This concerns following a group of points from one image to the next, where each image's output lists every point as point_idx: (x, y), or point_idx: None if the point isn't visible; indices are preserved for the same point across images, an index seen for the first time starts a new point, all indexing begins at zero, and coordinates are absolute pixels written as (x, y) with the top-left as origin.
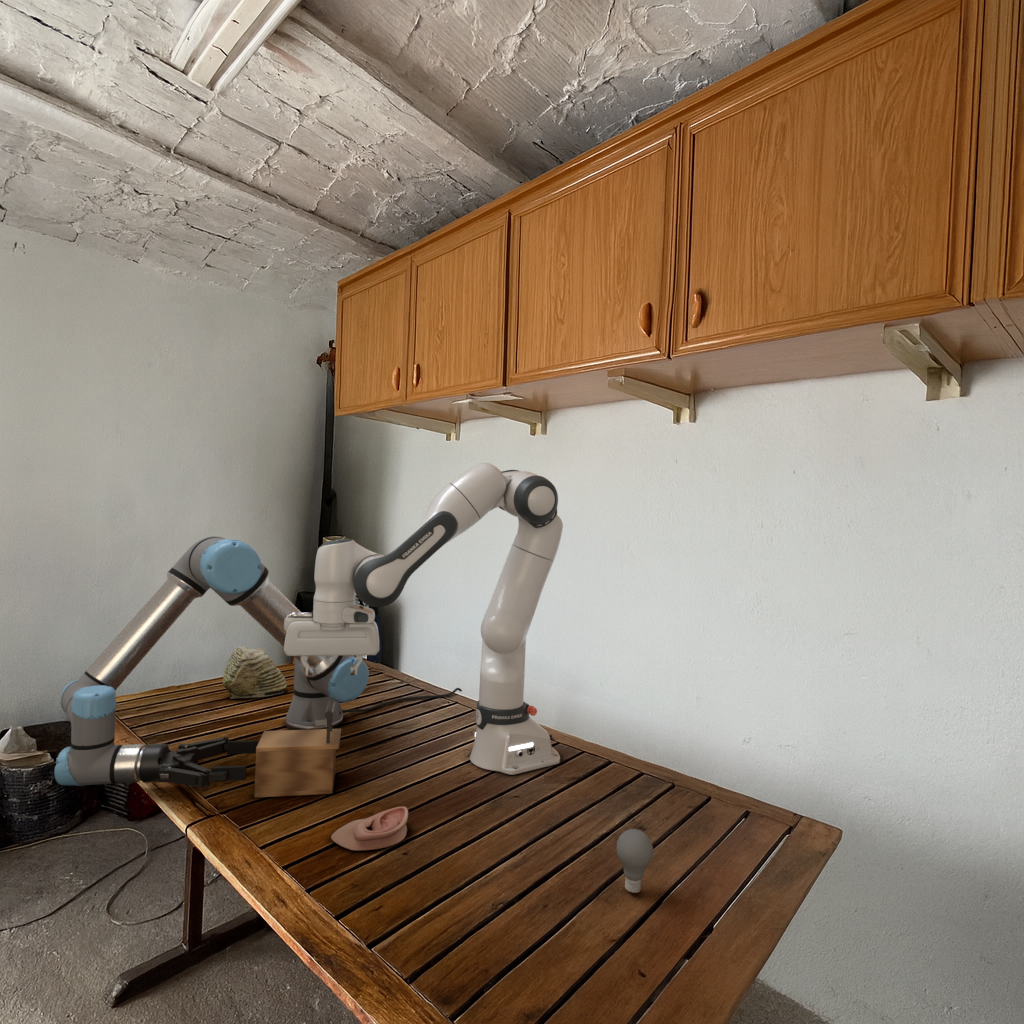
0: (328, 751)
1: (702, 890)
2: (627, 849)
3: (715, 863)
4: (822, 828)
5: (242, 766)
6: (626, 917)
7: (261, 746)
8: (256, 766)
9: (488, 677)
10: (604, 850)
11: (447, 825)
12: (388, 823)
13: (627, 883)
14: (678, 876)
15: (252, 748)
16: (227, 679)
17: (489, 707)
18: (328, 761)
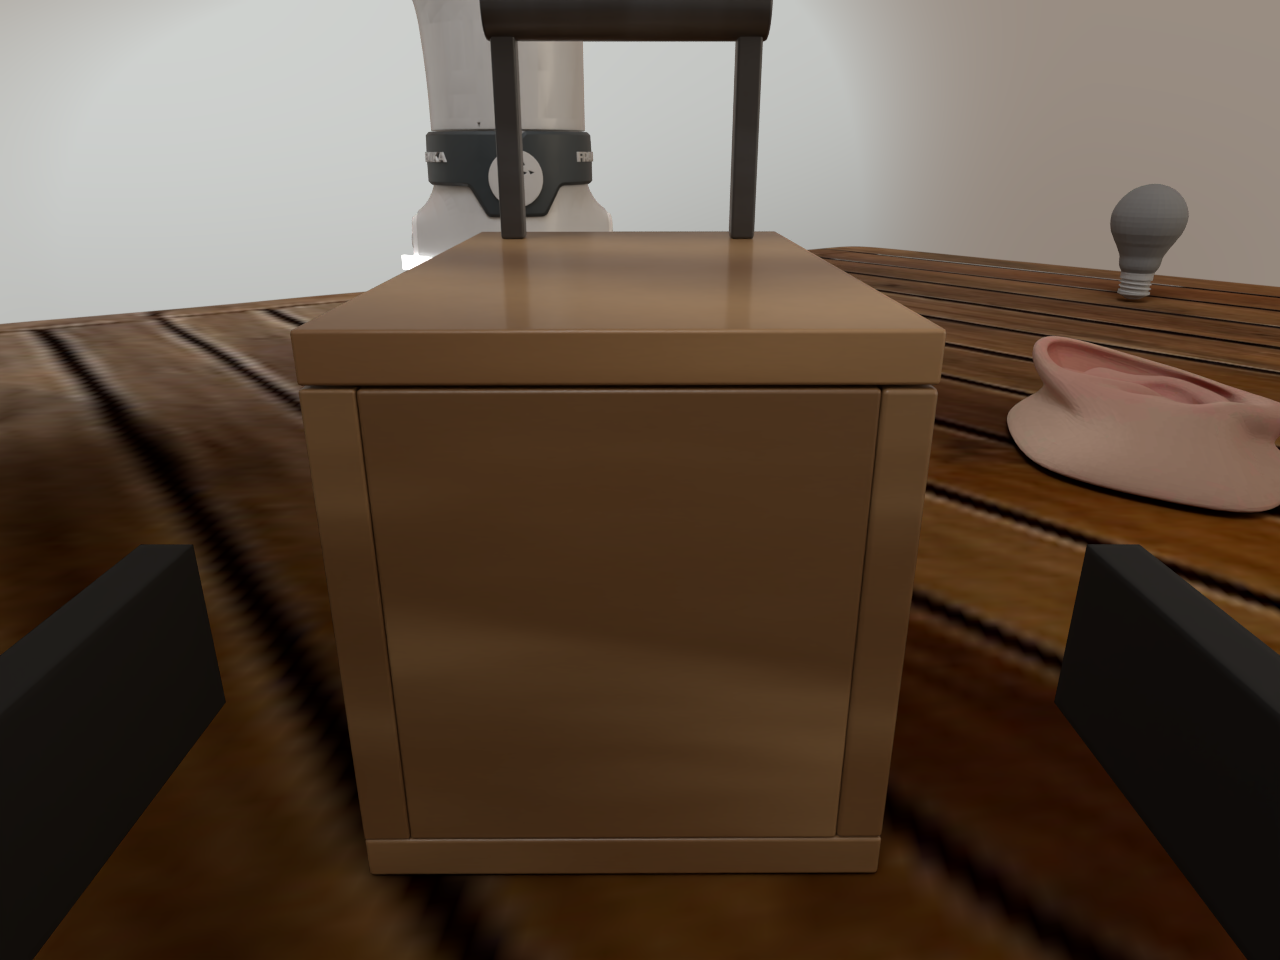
0: None
1: (1082, 282)
2: (1185, 208)
3: (990, 274)
4: (852, 247)
5: (1147, 563)
6: (1221, 307)
7: (882, 318)
8: (914, 560)
9: None
10: (996, 301)
11: (971, 377)
12: (1130, 382)
13: (1145, 284)
14: (1050, 285)
15: (172, 683)
16: None
17: (561, 127)
18: None
